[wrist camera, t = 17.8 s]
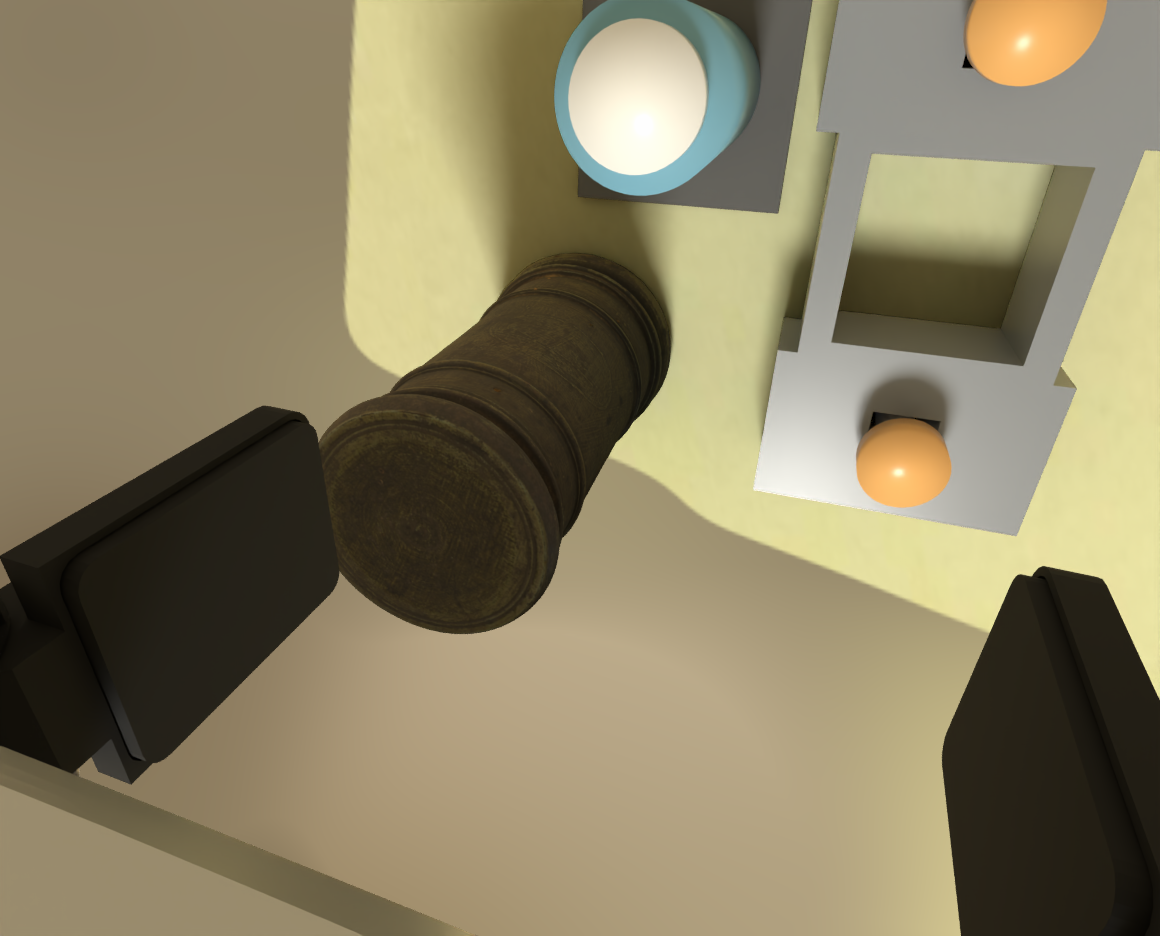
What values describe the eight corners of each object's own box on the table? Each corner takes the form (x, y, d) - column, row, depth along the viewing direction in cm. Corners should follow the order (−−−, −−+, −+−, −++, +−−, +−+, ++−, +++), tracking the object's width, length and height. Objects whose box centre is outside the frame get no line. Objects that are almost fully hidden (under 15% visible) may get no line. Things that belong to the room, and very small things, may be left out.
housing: (1212, -93, 23) (1285, -121, 20) (996, 483, 34) (1016, 536, 30) (855, -89, 26) (859, -112, 22) (761, 445, 37) (753, 489, 33)
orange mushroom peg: (942, 377, 32) (963, 439, 27) (921, 444, 34) (937, 514, 29) (861, 367, 33) (867, 424, 28) (845, 433, 35) (848, 499, 29)
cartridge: (770, 11, 28) (743, -12, 19) (750, 163, 30) (718, 206, 21) (633, 9, 29) (546, -14, 20) (625, 155, 32) (545, 192, 23)
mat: (818, -41, 27) (818, -42, 26) (778, 211, 31) (777, 213, 31) (586, -41, 29) (584, -42, 29) (580, 195, 33) (578, 196, 33)
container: (500, 243, 36) (261, 379, 21) (679, 257, 34) (556, 420, 19) (508, 408, 40) (316, 616, 25) (666, 430, 38) (559, 672, 23)
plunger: (1066, -31, 25) (1128, -54, 19) (1031, 82, 26) (1080, 88, 21) (958, -32, 25) (989, -54, 20) (931, 78, 27) (954, 84, 22)
